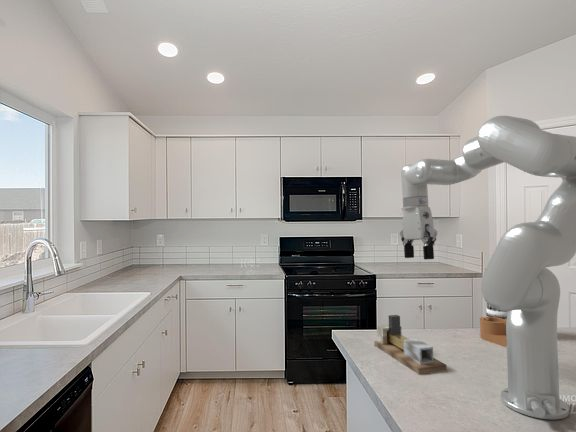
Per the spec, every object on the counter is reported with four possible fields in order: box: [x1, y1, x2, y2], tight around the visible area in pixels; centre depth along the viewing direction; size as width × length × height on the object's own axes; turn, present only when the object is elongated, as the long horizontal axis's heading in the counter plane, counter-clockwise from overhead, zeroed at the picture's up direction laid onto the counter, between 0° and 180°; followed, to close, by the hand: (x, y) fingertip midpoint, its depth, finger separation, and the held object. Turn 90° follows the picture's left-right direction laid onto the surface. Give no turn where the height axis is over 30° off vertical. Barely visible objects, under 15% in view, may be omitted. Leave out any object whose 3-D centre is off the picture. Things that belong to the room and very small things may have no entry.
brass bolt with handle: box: [387, 314, 409, 350], centre depth 113 cm, size 15×3×9 cm, turn 15°
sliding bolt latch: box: [374, 324, 447, 375], centre depth 110 cm, size 24×9×7 cm, turn 15°
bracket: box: [479, 316, 507, 348], centre depth 121 cm, size 18×8×7 cm, turn 23°
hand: (418, 258), depth 110 cm, fingers open, 9 cm apart
